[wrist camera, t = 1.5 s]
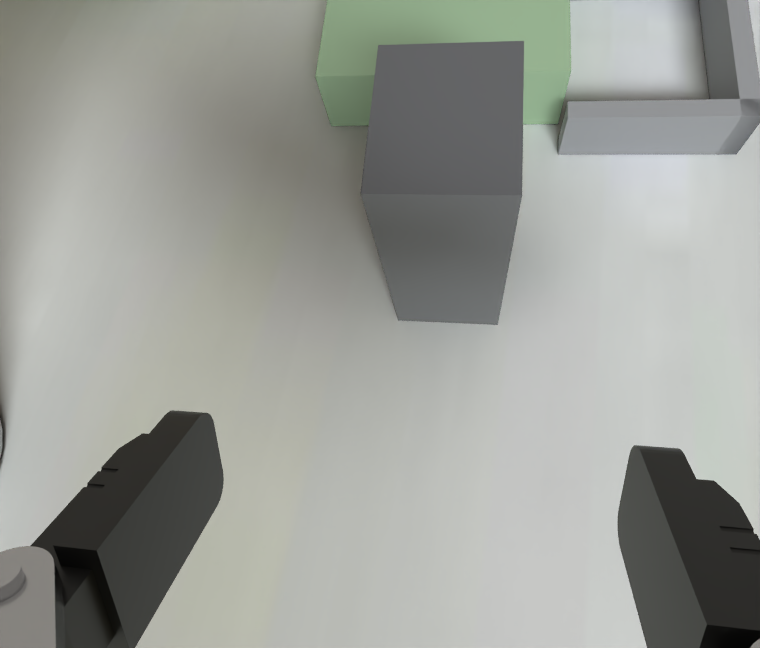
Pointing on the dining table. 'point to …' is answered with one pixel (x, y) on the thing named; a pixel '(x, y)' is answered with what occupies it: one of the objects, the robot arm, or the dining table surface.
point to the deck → (550, 71)
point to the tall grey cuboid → (445, 175)
